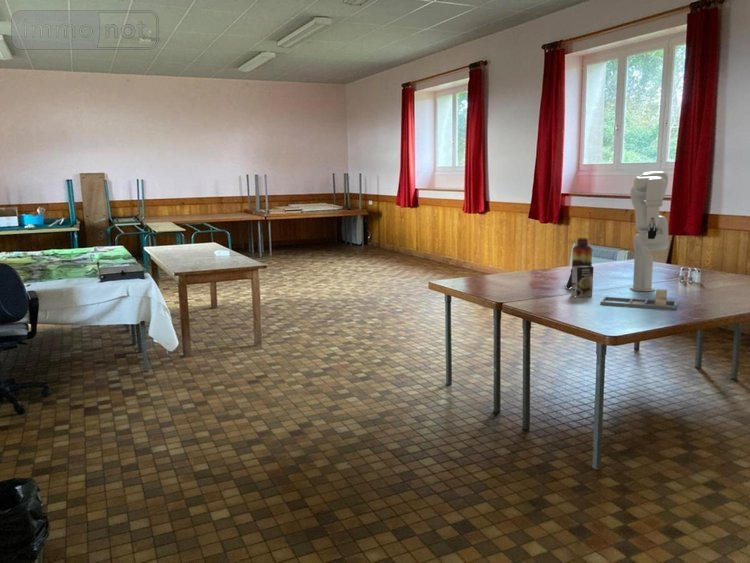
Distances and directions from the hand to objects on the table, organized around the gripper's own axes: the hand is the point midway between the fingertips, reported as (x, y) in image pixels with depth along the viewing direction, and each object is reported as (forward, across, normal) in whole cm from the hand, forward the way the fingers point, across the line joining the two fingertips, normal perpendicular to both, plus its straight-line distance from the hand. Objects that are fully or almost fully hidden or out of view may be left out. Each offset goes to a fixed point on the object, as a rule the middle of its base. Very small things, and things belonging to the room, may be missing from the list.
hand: (652, 237), depth 307 cm
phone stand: (+33, -17, -39) cm, 54 cm away
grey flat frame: (+31, +15, -4) cm, 35 cm away
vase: (+34, -41, -40) cm, 67 cm away
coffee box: (+32, +3, -32) cm, 46 cm away
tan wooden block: (+31, +15, +6) cm, 35 cm away
